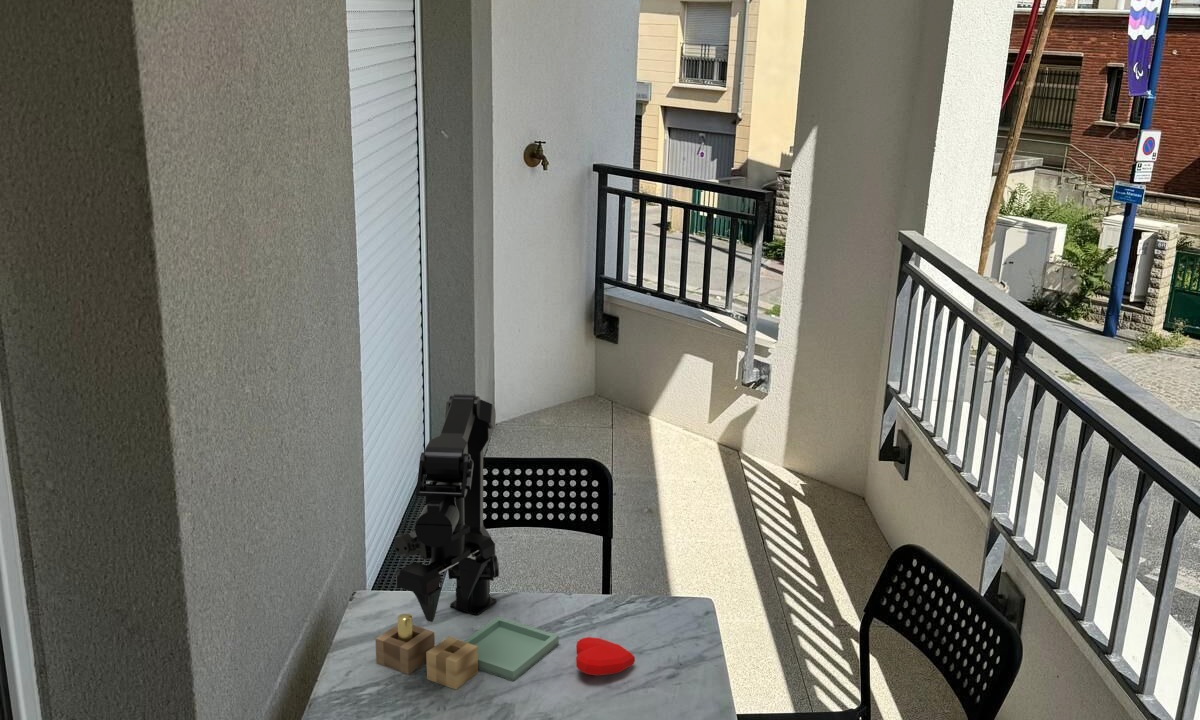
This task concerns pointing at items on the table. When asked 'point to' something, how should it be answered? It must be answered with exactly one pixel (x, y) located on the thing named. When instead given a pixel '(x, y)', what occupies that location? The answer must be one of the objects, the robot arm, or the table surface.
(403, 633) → the brass pin
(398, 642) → the walnut block
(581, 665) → the heart
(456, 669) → the oak block
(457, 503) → the robot arm
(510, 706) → the table surface
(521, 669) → the green tray
